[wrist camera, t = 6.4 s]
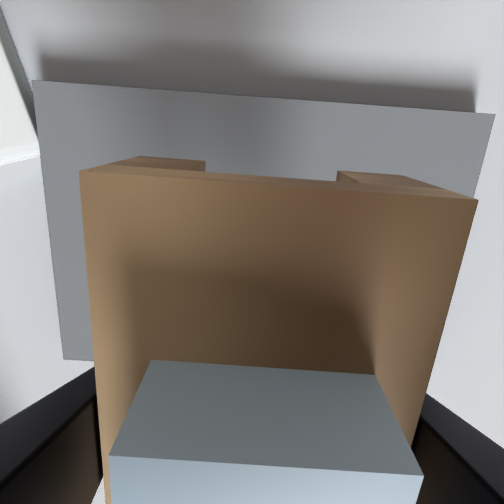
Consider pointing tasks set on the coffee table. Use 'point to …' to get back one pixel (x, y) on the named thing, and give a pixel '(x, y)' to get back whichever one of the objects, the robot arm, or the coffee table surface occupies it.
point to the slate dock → (228, 154)
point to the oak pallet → (266, 276)
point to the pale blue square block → (260, 439)
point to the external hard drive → (15, 105)
